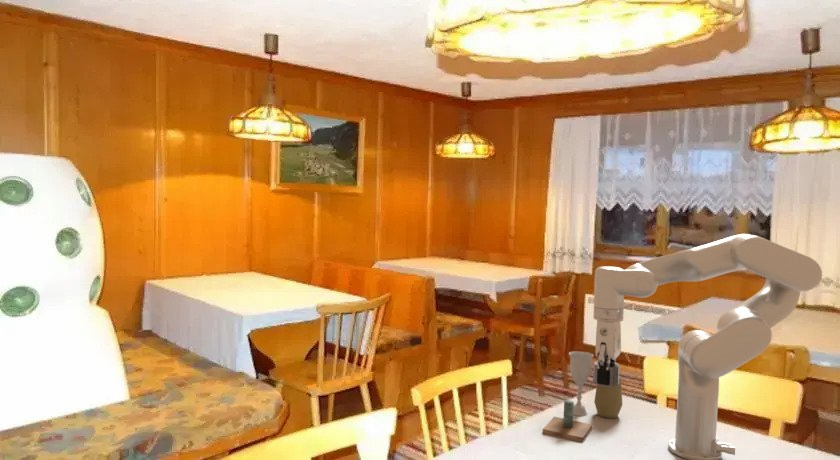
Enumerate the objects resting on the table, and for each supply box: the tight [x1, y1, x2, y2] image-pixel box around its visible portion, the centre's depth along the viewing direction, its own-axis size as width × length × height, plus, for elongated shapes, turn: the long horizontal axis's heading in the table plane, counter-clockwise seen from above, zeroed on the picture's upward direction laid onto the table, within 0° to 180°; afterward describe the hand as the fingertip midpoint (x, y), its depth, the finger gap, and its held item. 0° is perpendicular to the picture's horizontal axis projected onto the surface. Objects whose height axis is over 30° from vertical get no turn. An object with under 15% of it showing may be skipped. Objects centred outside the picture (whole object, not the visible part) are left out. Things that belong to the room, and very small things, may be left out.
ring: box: [592, 360, 621, 386], centre depth 160 cm, size 6×6×5 cm
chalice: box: [568, 350, 595, 417], centre depth 182 cm, size 7×7×18 cm
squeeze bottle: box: [593, 375, 623, 419], centre depth 181 cm, size 8×8×18 cm
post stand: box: [542, 399, 593, 443], centre depth 168 cm, size 11×11×8 cm
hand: (606, 380), depth 160 cm, fingers closed on ring, 6 cm apart
